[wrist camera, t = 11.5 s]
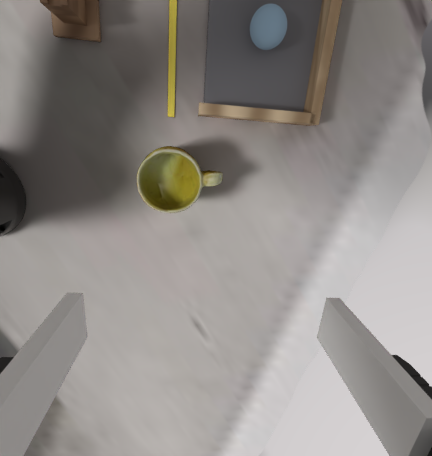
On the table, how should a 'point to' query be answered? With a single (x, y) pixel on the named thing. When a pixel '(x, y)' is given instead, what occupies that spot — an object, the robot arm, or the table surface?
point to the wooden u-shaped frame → (315, 84)
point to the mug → (172, 180)
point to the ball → (268, 26)
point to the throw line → (172, 56)
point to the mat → (259, 56)
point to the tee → (75, 18)
